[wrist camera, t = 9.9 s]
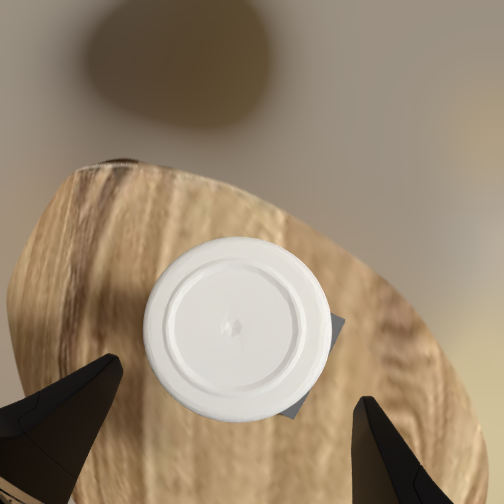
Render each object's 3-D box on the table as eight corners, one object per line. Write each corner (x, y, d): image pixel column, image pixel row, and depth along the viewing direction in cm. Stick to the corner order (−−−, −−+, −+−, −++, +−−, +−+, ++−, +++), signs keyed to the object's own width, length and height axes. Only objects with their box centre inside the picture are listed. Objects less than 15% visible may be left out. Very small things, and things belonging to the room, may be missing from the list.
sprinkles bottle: (220, 366, 18) (118, 389, 5) (235, 305, 19) (167, 216, 7) (284, 381, 17) (310, 444, 5) (298, 318, 19) (349, 249, 6)
